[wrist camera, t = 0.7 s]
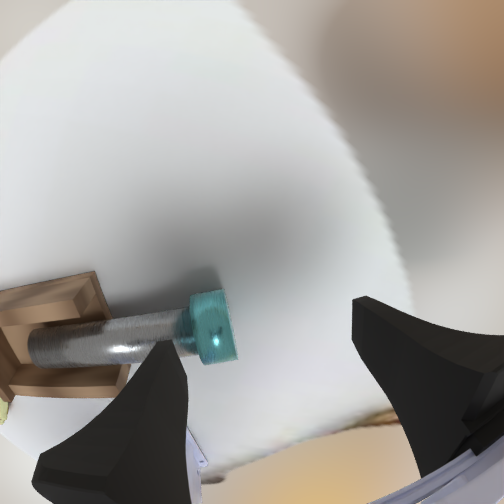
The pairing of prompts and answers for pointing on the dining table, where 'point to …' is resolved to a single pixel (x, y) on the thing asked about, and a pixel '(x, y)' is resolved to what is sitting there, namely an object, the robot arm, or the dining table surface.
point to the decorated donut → (3, 411)
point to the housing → (49, 315)
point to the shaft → (140, 336)
